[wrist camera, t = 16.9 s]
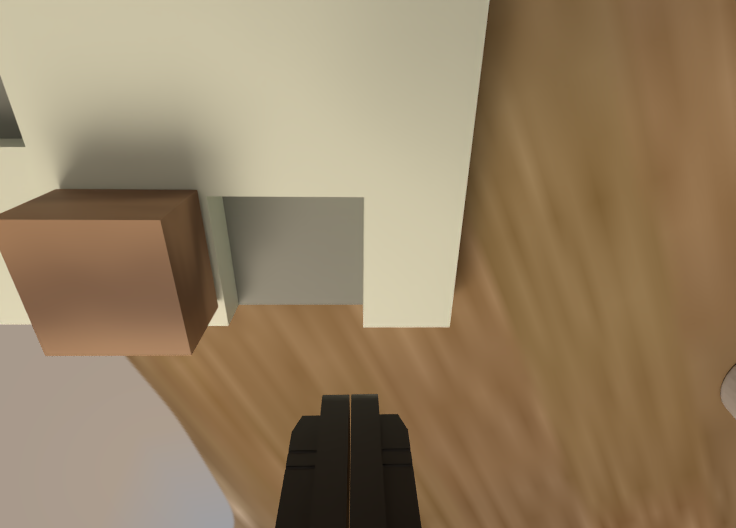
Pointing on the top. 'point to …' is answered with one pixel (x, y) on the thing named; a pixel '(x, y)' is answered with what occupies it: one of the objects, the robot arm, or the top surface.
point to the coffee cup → (729, 391)
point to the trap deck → (260, 136)
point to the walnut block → (111, 270)
